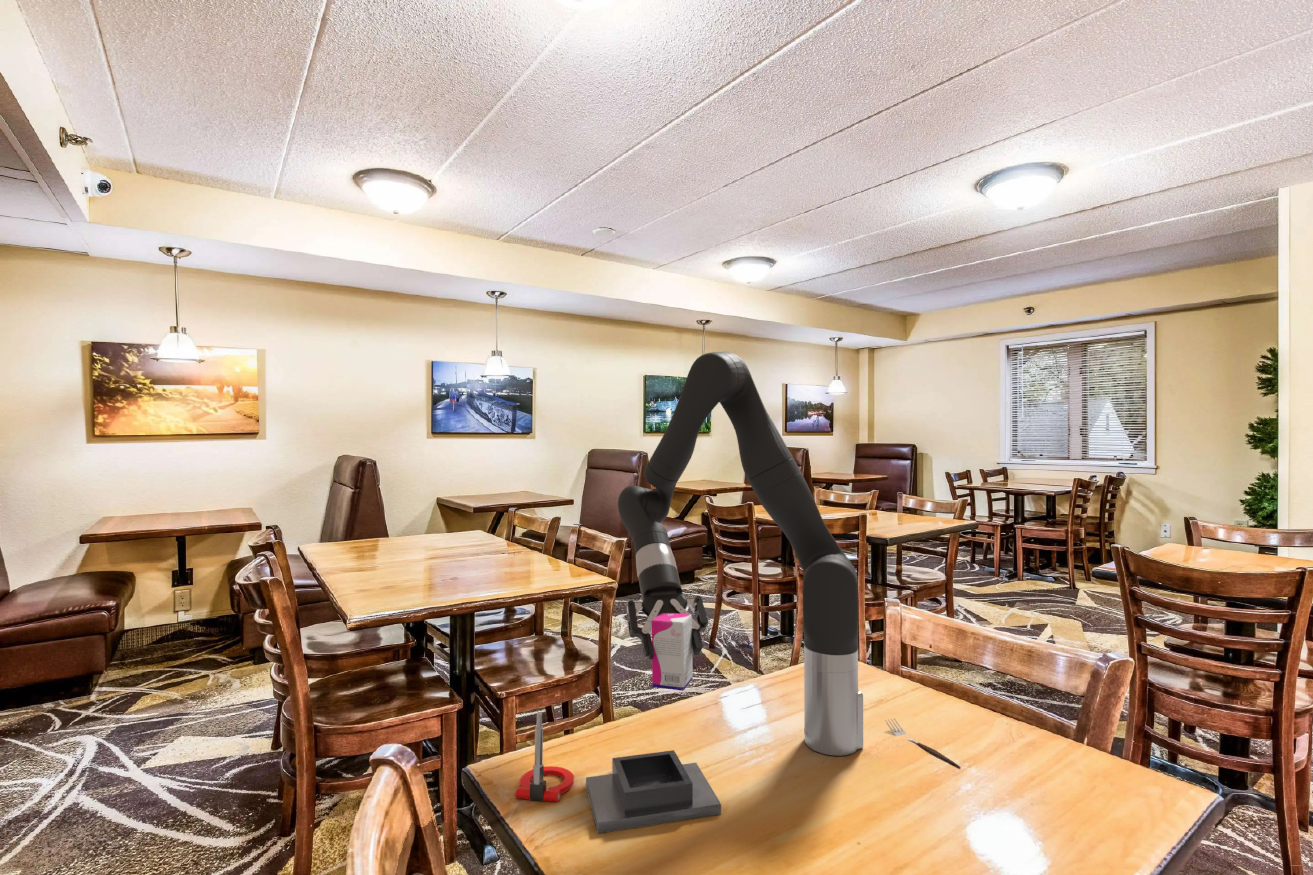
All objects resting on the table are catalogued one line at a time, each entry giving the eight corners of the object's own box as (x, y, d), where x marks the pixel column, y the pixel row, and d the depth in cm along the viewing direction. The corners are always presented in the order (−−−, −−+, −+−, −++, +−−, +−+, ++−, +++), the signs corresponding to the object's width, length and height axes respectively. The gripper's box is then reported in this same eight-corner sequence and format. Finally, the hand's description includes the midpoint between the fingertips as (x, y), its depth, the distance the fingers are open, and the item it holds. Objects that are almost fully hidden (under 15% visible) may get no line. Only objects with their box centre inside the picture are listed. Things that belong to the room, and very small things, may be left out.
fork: (954, 772, 104) (954, 760, 104) (884, 730, 119) (884, 720, 119) (966, 769, 105) (966, 757, 105) (895, 728, 120) (895, 717, 120)
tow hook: (530, 771, 105) (509, 800, 96) (532, 691, 106) (510, 713, 97) (580, 775, 104) (563, 805, 95) (581, 694, 105) (564, 717, 95)
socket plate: (696, 771, 104) (696, 744, 104) (721, 814, 92) (721, 783, 92) (586, 786, 100) (585, 758, 100) (597, 833, 88) (597, 800, 88)
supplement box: (693, 678, 112) (693, 613, 112) (683, 691, 107) (683, 623, 106) (662, 674, 114) (661, 610, 114) (651, 687, 108) (650, 620, 108)
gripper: (623, 564, 116) (637, 648, 105) (698, 560, 119) (719, 641, 108) (617, 586, 121) (630, 669, 110) (690, 581, 124) (709, 661, 113)
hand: (674, 655), depth 109 cm, fingers closed on supplement box, 8 cm apart
